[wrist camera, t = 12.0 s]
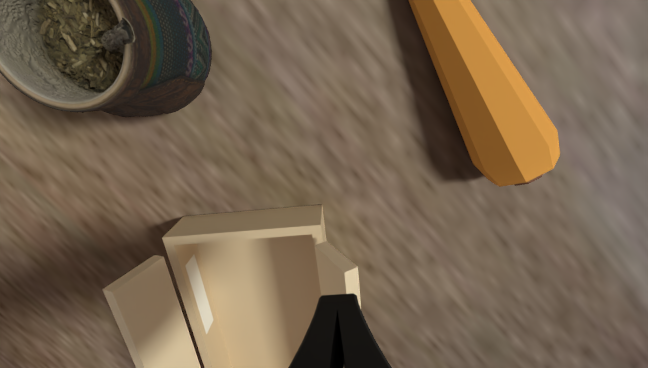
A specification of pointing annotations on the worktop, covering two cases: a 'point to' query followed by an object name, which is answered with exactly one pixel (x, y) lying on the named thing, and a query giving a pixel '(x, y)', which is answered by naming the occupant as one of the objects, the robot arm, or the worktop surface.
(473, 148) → the carrot
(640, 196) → the worktop surface
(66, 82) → the mate gourd
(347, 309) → the robot arm
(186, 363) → the flap
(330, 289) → the flap
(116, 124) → the worktop surface
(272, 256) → the carton
